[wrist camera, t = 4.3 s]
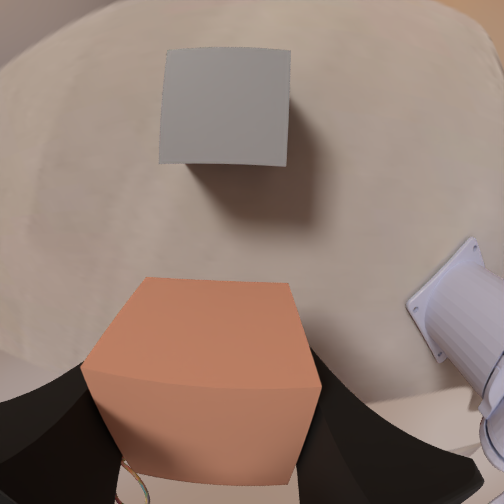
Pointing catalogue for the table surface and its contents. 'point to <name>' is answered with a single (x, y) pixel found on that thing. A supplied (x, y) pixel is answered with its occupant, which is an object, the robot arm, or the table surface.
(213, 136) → the slate block
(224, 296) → the terracotta block
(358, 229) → the table surface
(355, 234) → the table surface
